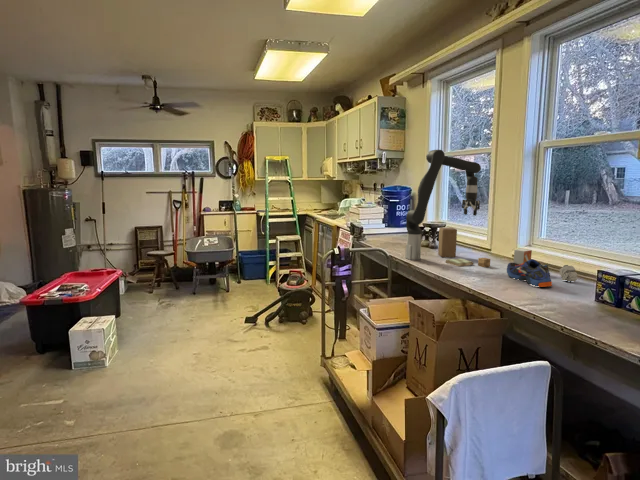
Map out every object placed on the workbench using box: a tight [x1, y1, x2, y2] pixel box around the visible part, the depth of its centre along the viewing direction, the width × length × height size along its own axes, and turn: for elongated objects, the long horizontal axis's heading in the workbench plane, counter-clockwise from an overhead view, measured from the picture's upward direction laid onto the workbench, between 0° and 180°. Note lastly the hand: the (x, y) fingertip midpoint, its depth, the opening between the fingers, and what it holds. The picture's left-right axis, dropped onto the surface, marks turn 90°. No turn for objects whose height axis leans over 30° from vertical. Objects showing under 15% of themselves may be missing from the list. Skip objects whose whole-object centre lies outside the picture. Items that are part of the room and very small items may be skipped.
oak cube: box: [477, 257, 491, 268], centre depth 259 cm, size 5×5×5 cm
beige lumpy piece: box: [559, 264, 578, 282], centre depth 222 cm, size 6×7×10 cm
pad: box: [445, 258, 474, 267], centre depth 267 cm, size 12×12×2 cm
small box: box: [513, 248, 532, 265], centre depth 245 cm, size 8×6×13 cm
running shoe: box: [506, 258, 553, 288], centre depth 222 cm, size 12×32×13 cm, turn 11°
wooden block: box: [437, 227, 458, 258], centre depth 290 cm, size 10×10×20 cm
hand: (470, 215), depth 292 cm, fingers open, 8 cm apart
